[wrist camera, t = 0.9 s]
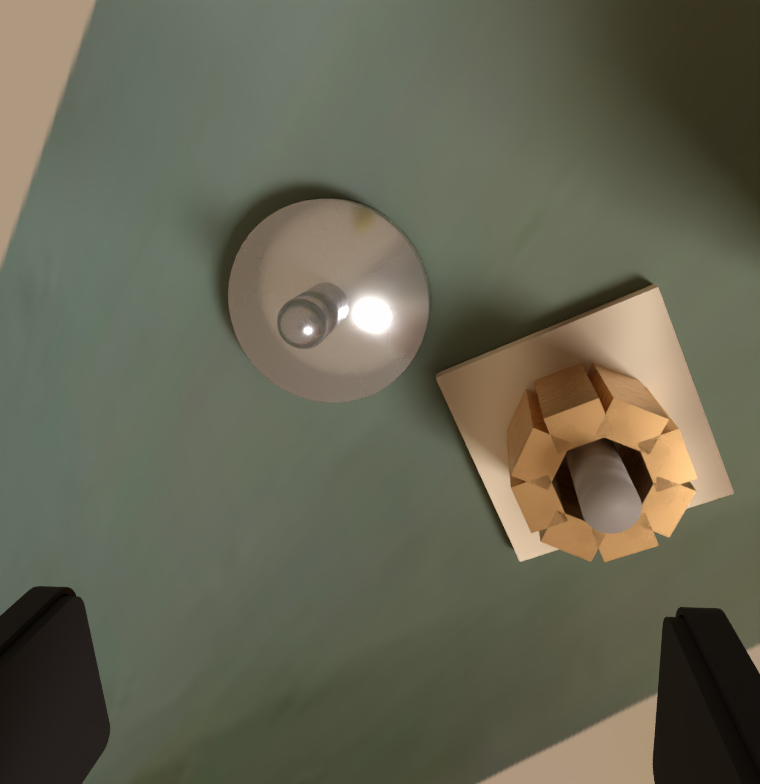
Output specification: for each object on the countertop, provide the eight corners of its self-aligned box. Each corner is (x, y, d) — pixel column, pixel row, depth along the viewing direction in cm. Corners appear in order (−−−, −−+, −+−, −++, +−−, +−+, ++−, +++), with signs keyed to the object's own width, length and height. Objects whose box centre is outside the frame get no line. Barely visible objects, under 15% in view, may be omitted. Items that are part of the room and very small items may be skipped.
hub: (377, 161, 28) (350, 156, 22) (462, 350, 30) (456, 391, 24) (203, 251, 31) (137, 267, 25) (292, 421, 32) (249, 473, 27)
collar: (629, 343, 28) (658, 375, 23) (679, 472, 30) (716, 528, 25) (488, 398, 30) (488, 439, 25) (541, 518, 31) (551, 578, 26)
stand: (653, 284, 28) (712, 320, 21) (727, 485, 30) (806, 583, 23) (436, 373, 31) (421, 433, 23) (519, 552, 33) (528, 660, 25)
